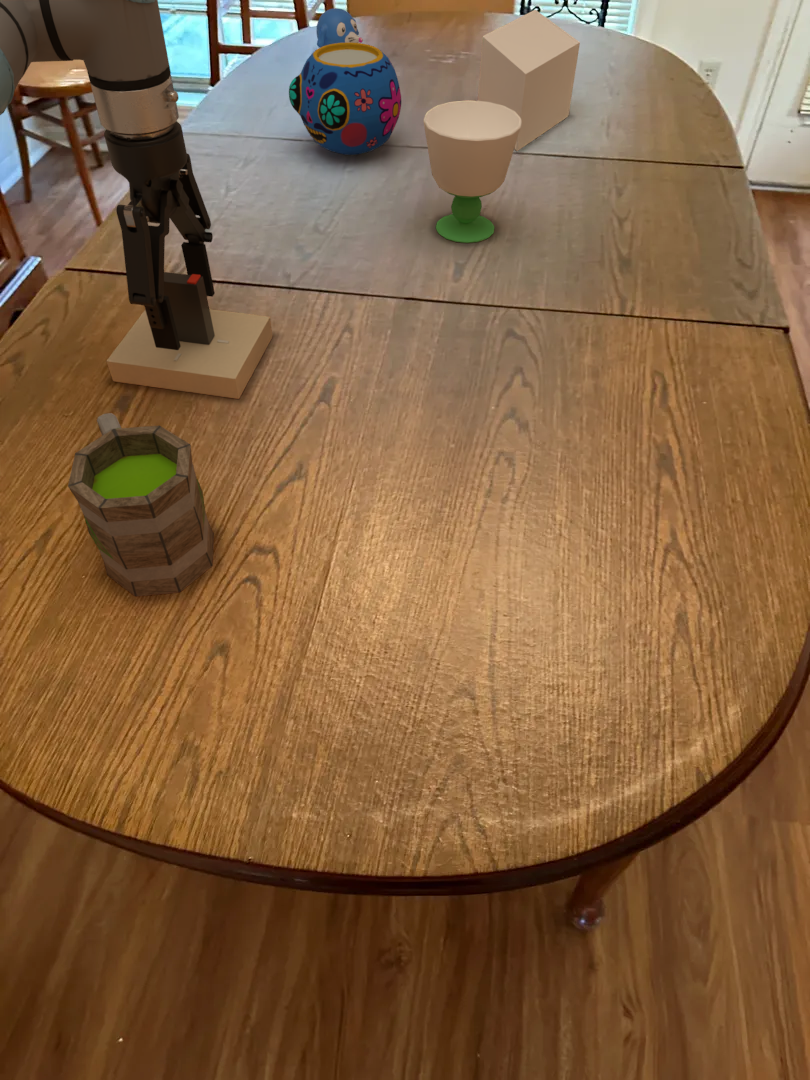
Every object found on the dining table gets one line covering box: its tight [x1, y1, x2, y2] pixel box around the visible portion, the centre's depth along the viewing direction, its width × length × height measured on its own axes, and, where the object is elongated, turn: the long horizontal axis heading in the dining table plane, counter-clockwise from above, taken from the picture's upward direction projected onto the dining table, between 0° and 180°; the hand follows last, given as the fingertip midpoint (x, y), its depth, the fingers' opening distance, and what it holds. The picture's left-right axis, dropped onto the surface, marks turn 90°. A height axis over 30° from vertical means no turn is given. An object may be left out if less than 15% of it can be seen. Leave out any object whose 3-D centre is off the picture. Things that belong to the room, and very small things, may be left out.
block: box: [477, 9, 581, 152], centre depth 146 cm, size 18×35×12 cm, turn 171°
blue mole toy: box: [315, 7, 364, 49], centre depth 166 cm, size 12×12×8 cm
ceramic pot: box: [288, 42, 402, 156], centre depth 133 cm, size 18×18×15 cm
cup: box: [422, 99, 522, 244], centre depth 114 cm, size 14×14×16 cm
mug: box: [67, 412, 215, 597], centre depth 74 cm, size 16×11×12 cm
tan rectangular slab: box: [106, 308, 273, 400], centre depth 97 cm, size 16×13×3 cm
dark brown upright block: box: [164, 271, 215, 345], centre depth 93 cm, size 6×2×8 cm, turn 79°
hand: (186, 319), depth 94 cm, fingers open, 11 cm apart
